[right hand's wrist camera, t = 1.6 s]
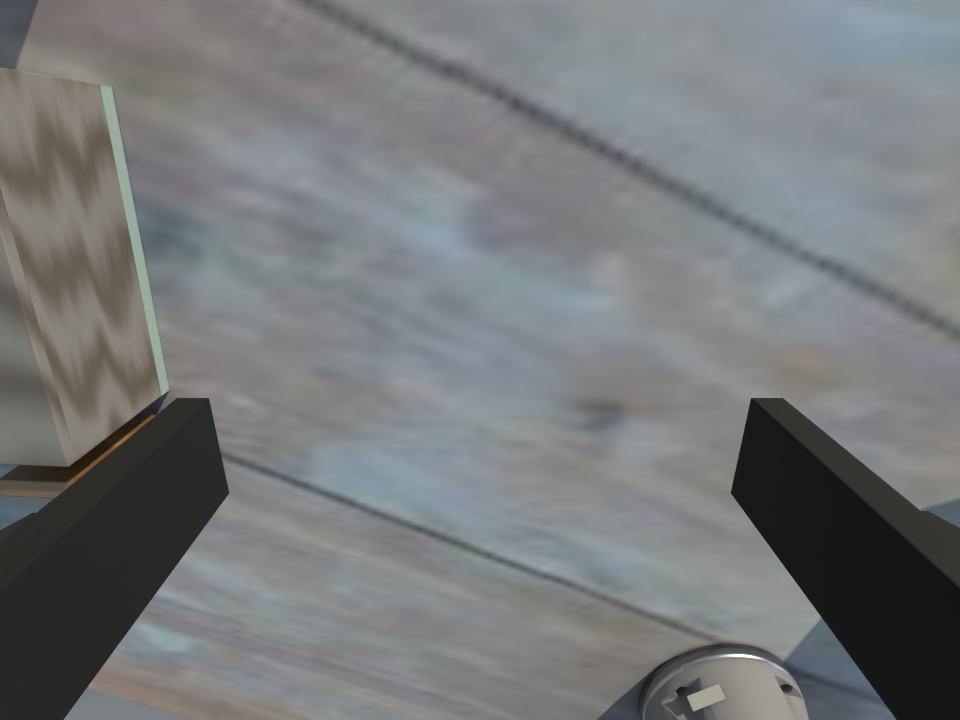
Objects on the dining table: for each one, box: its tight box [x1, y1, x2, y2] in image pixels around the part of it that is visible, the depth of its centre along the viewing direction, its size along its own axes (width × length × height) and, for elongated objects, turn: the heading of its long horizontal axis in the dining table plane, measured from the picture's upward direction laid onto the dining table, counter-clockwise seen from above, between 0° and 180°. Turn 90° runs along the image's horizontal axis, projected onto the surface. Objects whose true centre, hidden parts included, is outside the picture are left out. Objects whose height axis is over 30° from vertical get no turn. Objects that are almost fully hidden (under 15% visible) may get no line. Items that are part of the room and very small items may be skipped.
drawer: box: [0, 414, 156, 498], centre depth 33 cm, size 25×5×9 cm, turn 177°
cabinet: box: [0, 67, 169, 467], centre depth 31 cm, size 21×6×10 cm, turn 177°
